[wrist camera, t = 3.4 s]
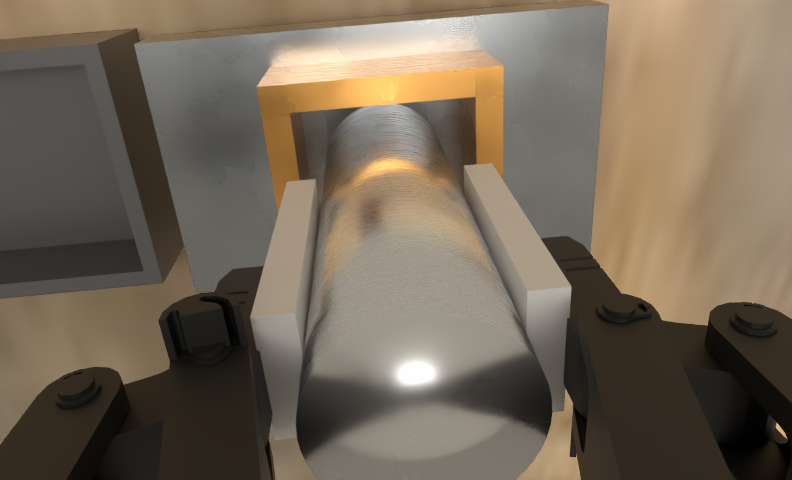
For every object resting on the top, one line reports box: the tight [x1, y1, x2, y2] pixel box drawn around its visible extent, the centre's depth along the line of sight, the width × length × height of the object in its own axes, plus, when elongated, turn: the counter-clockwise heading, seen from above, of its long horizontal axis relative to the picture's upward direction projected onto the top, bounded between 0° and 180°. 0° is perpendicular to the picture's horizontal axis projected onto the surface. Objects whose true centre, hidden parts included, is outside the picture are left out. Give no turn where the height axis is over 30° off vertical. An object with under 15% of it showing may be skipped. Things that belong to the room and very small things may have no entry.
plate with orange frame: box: [134, 0, 609, 293], centre depth 22 cm, size 15×9×8 cm, turn 94°
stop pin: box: [296, 104, 552, 480], centre depth 15 cm, size 4×4×13 cm
